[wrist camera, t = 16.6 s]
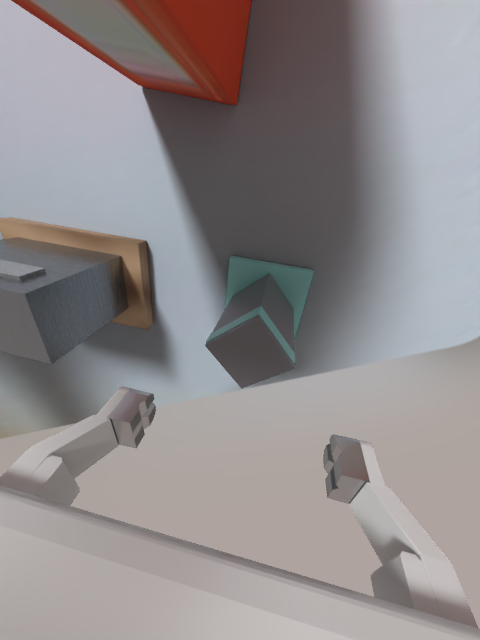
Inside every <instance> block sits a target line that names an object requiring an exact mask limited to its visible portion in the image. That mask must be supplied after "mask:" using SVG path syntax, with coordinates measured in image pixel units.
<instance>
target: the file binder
mask: <svg viewBox="0 0 480 640" xmlns="http://www.w3.org/2000/svg"><path fill="white" fill-rule="evenodd" d="M12 1H13V2H15V3H16V4H18V5H19V6H21V7H22V8H24V9H25V10H27V11H28V12H30V13H31V14H33V15H34V16H36V17H37V18H39V19H40V20H42V21H43V22H45V23H46V24H48V25H49V26H51V27H52V28H54V29H55V30H57V31H58V32H60V33H61V34H63V35H64V36H66V37H67V38H69V39H70V40H72V41H73V42H75V43H76V44H78V45H79V46H81V47H82V48H84V49H85V50H87V51H88V52H90V53H91V54H93V55H94V56H96V57H97V58H99V59H100V60H102V61H103V62H105V63H106V64H108V65H109V66H111V67H112V68H114V69H115V70H117V71H118V72H120V73H121V74H123V75H124V76H126V77H127V78H129V79H130V80H132V81H133V82H135V83H136V84H138V85H141V86H142V87H146V88H151V89H155V90H160V91H165V92H170V93H175V94H180V95H185V96H190V97H195V98H200V99H205V100H209V101H214V102H219V103H224V104H229V105H232V104H233V105H237V102H238V95H239V87H240V80H241V73H242V66H243V59H244V52H245V45H246V38H247V30H248V23H249V16H250V9H251V2H252V0H12Z"/></svg>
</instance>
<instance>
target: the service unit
mask: <svg viewBox="0 0 480 640" xmlns="http://www.w3.org/2000/svg"><path fill="white" fill-rule="evenodd" d="M128 308H129V306H128V299H127V292H126V285H125V278H124V271H123V264H122V257H121V256H120V255H114V254H109V253H103V252H98V251H92V250H87V249H81V248H76V247H70V246H65V245H59V244H54V243H48V242H43V241H37V240H32V239H26V238H21V237H15V238H9V239H4V240H0V352H4V353H8V354H12V355H16V356H20V357H24V358H28V359H32V360H36V361H41V362H45V363H49V364H53V363H54V362H55V361H57V360H58V359H59V358H61V357H62V356H64V355H65V354H66V353H68V352H69V351H70V350H72V349H73V348H74V347H76V346H77V345H79V344H80V343H81V342H83V341H84V340H85V339H87V338H88V337H90V336H91V335H92V334H94V333H95V332H96V331H98V330H99V329H100V328H102V327H103V326H105V325H106V324H107V323H109V322H110V321H111V320H113V319H114V318H116V317H117V316H118V315H120V314H121V313H122V312H124V311H125V310H127V309H128Z"/></svg>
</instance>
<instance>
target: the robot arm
mask: <svg viewBox="0 0 480 640" xmlns="http://www.w3.org/2000/svg"><path fill="white" fill-rule="evenodd" d="M153 400H154V395H153V394H151V393H147V392H143V391H139V390H135V389H131V388H127V387H120V388H119V389H118V390H117V391H116V392H115V393H114V394H113V396H112V397H111V398H110V399H109V400H108V401H107V403H106V404H105V405H104V406H103V407H102V409H101V410H100V411H99V412H98V413H97V414H96V415H91V416H89V417H87V418H85V419H84V420H82V421H80V422H78V423H76V424H74V425H72V426H70V427H68V428H66V429H65V430H62V431H61V432H59V433H57V434H55V435H53V436H51V437H49V438H47V439H45V440H43V441H41V442H40V443H38V444H36V445H34V446H32V447H30V448H29V449H28V450H27V451H26V452H25V453H24V454H23V455H22V456H21V457H20V458H19V459H18V460H17V461H16V462H15V463H14V464H13V465H12V466H11V467H10V468H9V469H8V470H7V471H6V472H5V473H4V474H3V475H2V476H1V477H0V640H480V629H479V628H478V626H477V624H476V621H475V619H474V617H473V614H472V612H471V609H470V607H469V604H468V602H467V600H466V597H465V595H464V592H463V590H462V588H461V585H460V583H459V580H458V578H457V576H456V573H455V571H454V568H453V566H452V564H451V562H450V561H449V560H448V559H447V558H446V556H445V555H444V554H443V553H442V551H441V550H440V549H439V548H438V547H437V545H436V544H435V543H434V542H433V540H432V539H431V538H430V537H429V535H428V534H427V533H426V532H425V530H424V529H423V528H422V527H421V526H420V524H419V523H418V522H417V521H416V520H415V518H414V517H413V516H412V515H411V513H410V512H409V511H408V510H407V508H406V507H405V506H404V505H403V504H402V502H401V501H400V500H399V499H398V497H397V496H396V495H395V494H394V493H393V491H392V490H391V489H390V488H388V487H386V486H385V483H384V480H383V477H382V474H381V470H380V467H379V464H378V461H377V457H376V454H375V451H374V448H373V446H372V444H371V443H369V442H364V441H359V440H356V439H352V438H347V437H343V436H338V435H332V436H331V438H330V444H328V445H326V448H325V450H324V469H325V470H326V472H327V473H328V476H327V478H326V488H327V497H328V498H331V499H334V500H337V501H341V502H344V503H348V504H349V506H350V508H351V509H352V511H353V513H354V515H355V517H356V518H357V520H358V522H359V524H360V525H361V527H362V529H363V531H364V533H365V534H366V536H367V538H368V540H369V541H370V543H371V545H372V547H373V548H374V550H375V552H376V554H377V555H378V557H379V559H380V561H381V563H382V564H383V566H381V567H380V568H379V569H377V570H376V571H374V572H373V573H372V575H371V581H372V586H373V592H374V597H372V596H369V595H366V594H362V593H359V592H356V591H352V590H349V589H346V588H342V587H339V586H335V585H332V584H329V583H325V582H322V581H319V580H315V579H312V578H309V577H305V576H302V575H299V574H295V573H292V572H288V571H285V570H282V569H279V568H275V567H272V566H268V565H265V564H262V563H259V562H255V561H252V560H249V559H245V558H242V557H239V556H235V555H232V554H229V553H225V552H222V551H219V550H215V549H212V548H209V547H205V546H202V545H199V544H195V543H192V542H189V541H185V540H182V539H179V538H175V537H172V536H168V535H165V534H162V533H158V532H155V531H152V530H149V529H145V528H142V527H139V526H135V525H132V524H128V523H125V522H122V521H118V520H115V519H112V518H108V517H105V516H102V515H98V514H95V513H91V512H88V511H85V510H82V509H78V508H75V507H72V506H70V505H71V504H72V502H73V500H74V499H75V498H76V496H77V495H78V493H79V486H78V485H77V483H76V481H75V478H76V477H77V476H79V475H80V474H81V473H82V472H84V471H85V470H86V469H88V468H89V467H90V466H92V465H93V464H94V463H96V462H97V461H98V460H100V459H101V458H102V457H104V456H105V455H106V454H108V453H109V452H110V451H111V450H113V449H114V448H115V447H117V446H118V444H120V445H124V446H129V447H133V448H137V446H138V445H139V443H140V441H141V439H142V438H143V436H144V429H145V428H147V427H148V426H150V424H151V422H152V420H153V418H154V415H155V411H156V407H155V404H154V403H153Z"/></svg>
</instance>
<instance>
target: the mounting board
mask: <svg viewBox="0 0 480 640" xmlns="http://www.w3.org/2000/svg"><path fill="white" fill-rule="evenodd" d="M0 231H1V233H2V236H3V238H4V239H9V238H15V237H21V238H26V239H32V240H37V241H43V242H48V243H54V244H59V245H65V246H70V247H76V248H81V249H87V250H92V251H98V252H103V253H109V254H114V255H120V256H121V257H122V264H123V271H124V278H125V285H126V292H127V299H128V306H129V308H128V309H127V310H125V311H124V312H122V313H121V314H120V315H118V316H117V317H116V318H114V319H113V320H111V321H110V322H114V323H119V324H123V325H128V326H133V327H137V328H142V329H146V330H147V329H148V328H149V327H150V326H151V325H152V324H153V313H152V302H151V290H150V278H149V267H148V255H147V243H146V241H144V240H138V239H133V238H127V237H121V236H115V235H109V234H103V233H98V232H92V231H86V230H80V229H74V228H69V227H63V226H57V225H51V224H45V223H39V222H34V221H28V220H22V219H16V218H2V219H0Z"/></svg>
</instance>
